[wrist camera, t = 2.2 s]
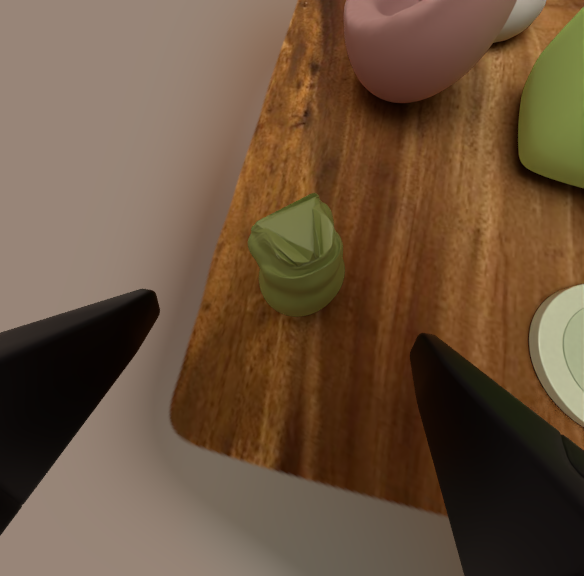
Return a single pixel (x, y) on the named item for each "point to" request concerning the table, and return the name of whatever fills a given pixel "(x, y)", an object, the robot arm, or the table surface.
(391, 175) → the table surface
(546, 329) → the plate
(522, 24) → the donut
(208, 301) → the table surface
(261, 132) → the table surface
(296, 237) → the olive green lumpy piece
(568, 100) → the teapot
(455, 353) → the robot arm
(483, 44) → the mortar and pestle
